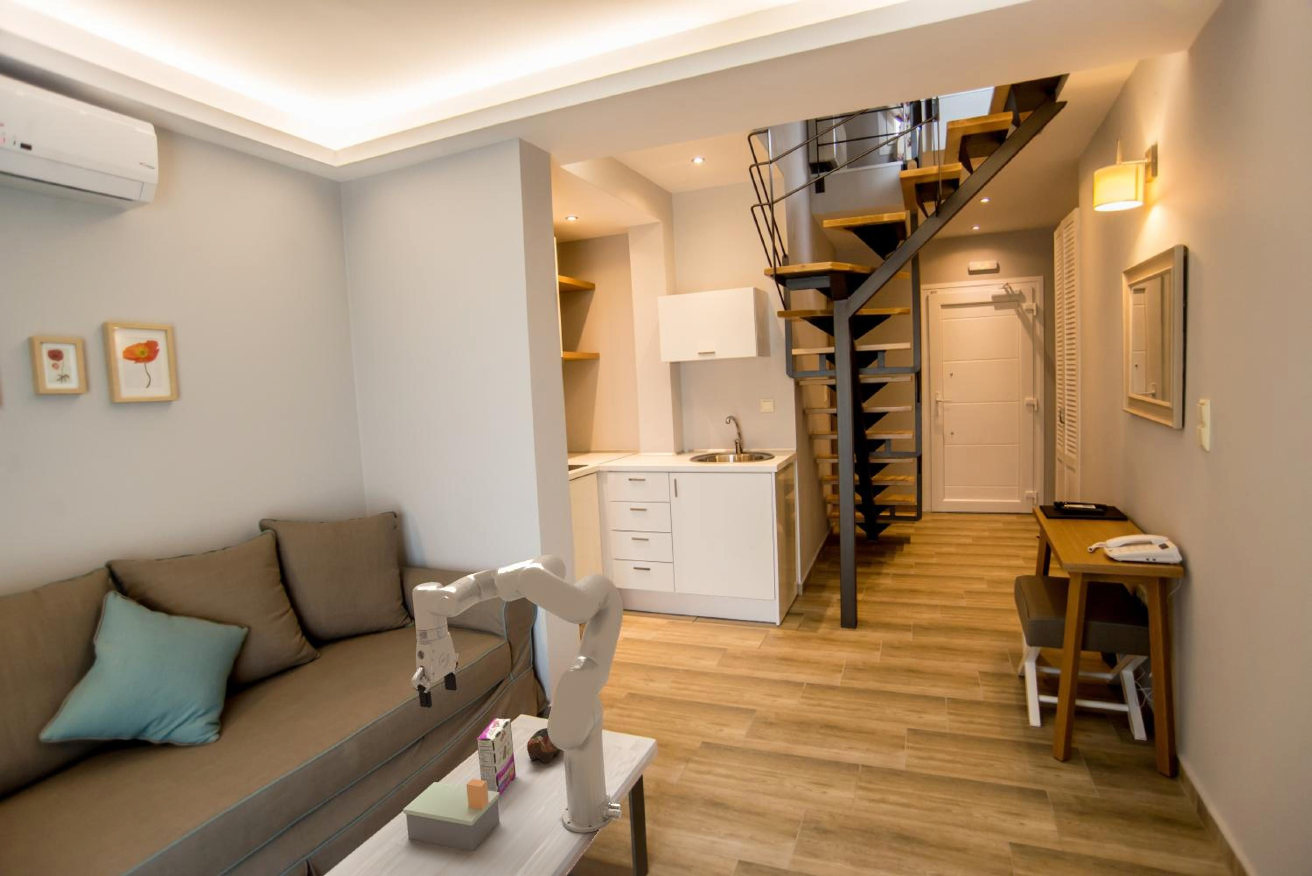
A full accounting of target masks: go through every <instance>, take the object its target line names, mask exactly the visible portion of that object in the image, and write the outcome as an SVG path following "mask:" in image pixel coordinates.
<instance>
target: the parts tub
mask: <svg viewBox="0 0 1312 876" xmlns="http://www.w3.org/2000/svg"><path fill="white" fill-rule="evenodd" d="M498 799H499V798H498ZM498 799H497V800H496V801H495V802H494V803H493V804H492V805H491V806H490V807H489V808H488V809H487V810H486V811H485V812H484V813H483V814H482V815H481V817H480V818H479V819H478V820H477V821H476V822H475V823H474V824H473V825H472V826H471V825H465V824H460V823H454V822H449V821H443V820H438V819H432V818H427V817H421V816H415V815H410V814H405V816H406V827H407V837H408V840H413V841H419V842H424V843H428V844H429V843H430V844H435V845H440V846H444V847H451V848H456V849H460V850H465V851H471V852H474V850H475V849H477V847H478V846H480V844H481V843H482V842H483V841H484V840H485V838H487V836H488V835H489V834H490V833H491V832H492V831H493V829H494V828H495V827H496V826H497V825H498V824H500V813H499V801H498Z"/></svg>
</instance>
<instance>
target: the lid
mask: <svg viewBox="0 0 1312 876" xmlns="http://www.w3.org/2000/svg"><path fill="white" fill-rule="evenodd" d="M500 796H501V795H500V793H499V792H494V791H488V788H487V781H483V780H481V779H477V778H471V780H470V781H468V783H466V786H461V785H456V784H450V783H443V782H438V781H434V782H433V783H431V784H430V785H429V786H428V787H427V788H426V789H425V790H423V791H422V792H421V793H420V794H419V795H418V796H417V797H415V799H413V800H412V801H411V802H410V803H409V804H408V805H406V806H405V807H404V808H403V809H402V811H403V814H404V815H406V814H410V815H415V816H421V817H427V818H432V819H438V820H443V821H449V822H454V823H460V824H465V825H471V826H472V825H473V824H474V823H475V822H476V821H477V820H478V819H479V818H480V817H481V815H482V814H483V813H484V812H485V811H486V810H487V809H488V808H489V807H490V806H491V805H492V804H493V803H494V802H495V801H496V800H497V799H499V797H500Z"/></svg>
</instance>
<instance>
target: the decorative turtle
mask: <svg viewBox="0 0 1312 876" xmlns="http://www.w3.org/2000/svg"><path fill="white" fill-rule="evenodd" d="M526 751H527V754H528V757H529V759H530V760H531V761H536V760H537V759H540V760H541V761H542V762H543V763H545V764H548V763H550V761H551V760H552V757H553V756H555V757H557V756H558V757H559V755H560V751H562V750H561V749H559V748H557V747H556V746H554V745H553V743H552V742H551V740H550V738H549V736H548V731H547V727H545V728H541V729H539V730H537V731H535V733H533V734H532V736H531V737H530V738H529V740H528V741H527V744H526Z"/></svg>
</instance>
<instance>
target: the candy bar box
mask: <svg viewBox="0 0 1312 876" xmlns="http://www.w3.org/2000/svg"><path fill="white" fill-rule="evenodd" d="M512 734H513V733H512V724H511V718H497V717H496V718H494V719H493V720H492V721H491V722H490V723H489V725H488V726H487V727H485V729H484V730H483V731H482V733H481V734H480V735H479V736H478V737H477V738H476V742H477V753H478V754H477V755H478V762H479V770H480V771H479V772H480V780H483V781H487V788H488V791H494V792H499V793H500V796H501V795H502V794H503V792H504V791H505V790H506V788H507V787H508V786H509V784H510V782H511V781H514V779H515V777H516V776H517V773H516V764H515V763H516V762H515V754H514V743H513V742H514V741H513V735H512Z"/></svg>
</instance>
